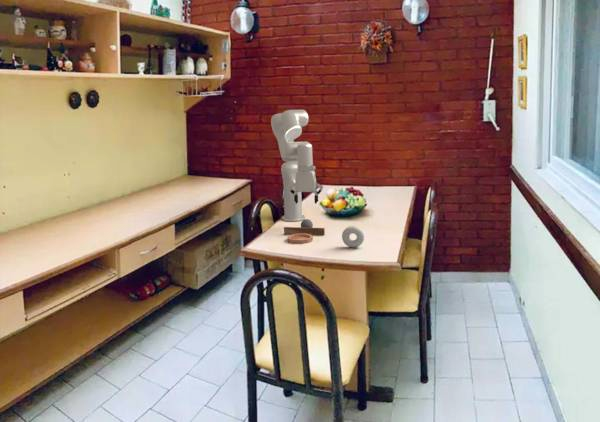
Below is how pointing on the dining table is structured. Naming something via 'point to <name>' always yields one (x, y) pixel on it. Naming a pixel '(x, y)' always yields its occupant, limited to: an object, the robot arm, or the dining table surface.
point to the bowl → (300, 238)
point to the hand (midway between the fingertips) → (306, 203)
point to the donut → (354, 230)
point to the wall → (304, 230)
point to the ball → (306, 223)
